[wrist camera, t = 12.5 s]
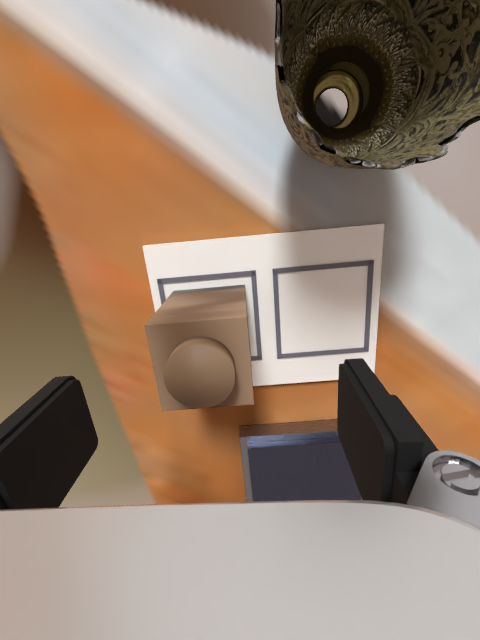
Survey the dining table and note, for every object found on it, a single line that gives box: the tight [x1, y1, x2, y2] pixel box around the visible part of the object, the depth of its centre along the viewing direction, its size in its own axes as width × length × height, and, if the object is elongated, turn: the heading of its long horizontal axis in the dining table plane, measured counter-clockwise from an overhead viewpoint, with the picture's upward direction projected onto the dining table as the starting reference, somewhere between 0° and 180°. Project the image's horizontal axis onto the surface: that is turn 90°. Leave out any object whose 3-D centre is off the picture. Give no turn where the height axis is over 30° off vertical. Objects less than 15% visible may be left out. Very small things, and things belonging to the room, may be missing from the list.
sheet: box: [143, 224, 384, 386], centre depth 19 cm, size 14×10×1 cm
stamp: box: [145, 285, 254, 411], centre depth 16 cm, size 4×4×7 cm
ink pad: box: [240, 419, 362, 502], centre depth 23 cm, size 9×7×2 cm
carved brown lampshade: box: [275, 0, 480, 169], centre depth 12 cm, size 8×7×8 cm
